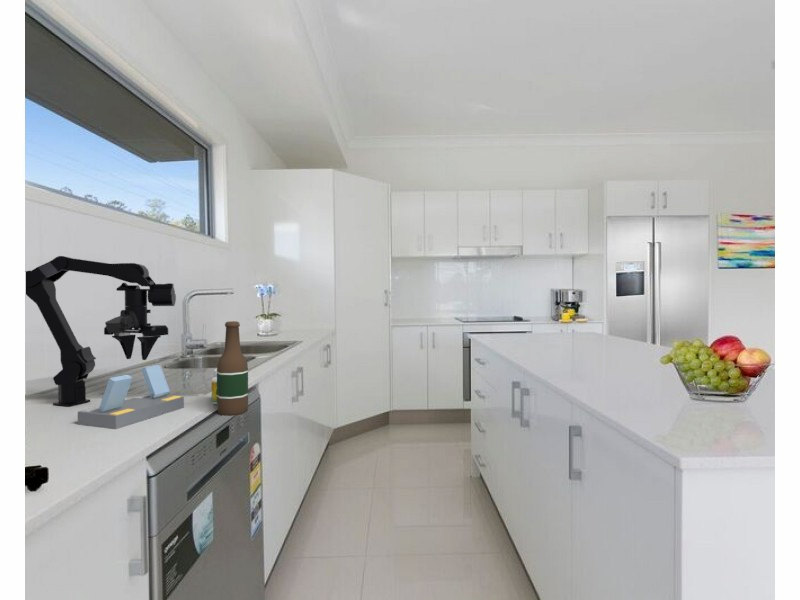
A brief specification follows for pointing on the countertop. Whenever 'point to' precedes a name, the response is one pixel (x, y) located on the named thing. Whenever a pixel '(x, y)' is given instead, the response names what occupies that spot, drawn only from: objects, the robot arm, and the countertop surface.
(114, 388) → the upright blue panel
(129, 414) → the switch panel
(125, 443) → the countertop surface
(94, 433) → the countertop surface
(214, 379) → the supplement bottle
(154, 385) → the panel
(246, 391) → the beer bottle
